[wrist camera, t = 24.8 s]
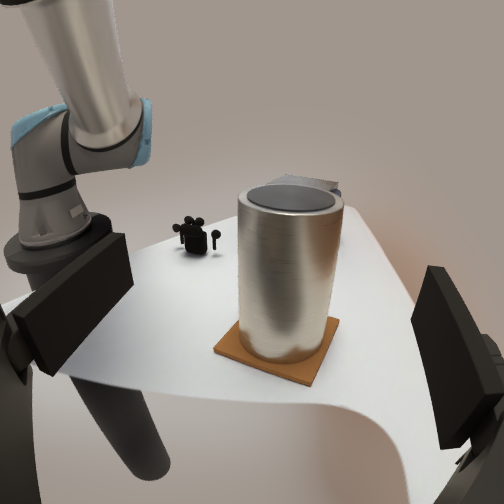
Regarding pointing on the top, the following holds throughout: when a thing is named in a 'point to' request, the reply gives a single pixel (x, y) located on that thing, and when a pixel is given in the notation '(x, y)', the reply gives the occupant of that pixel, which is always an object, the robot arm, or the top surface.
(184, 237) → the wireless earbuds
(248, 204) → the cup
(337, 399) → the top surface
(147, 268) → the top surface
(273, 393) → the top surface
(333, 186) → the navy cylinder with lid
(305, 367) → the mat
